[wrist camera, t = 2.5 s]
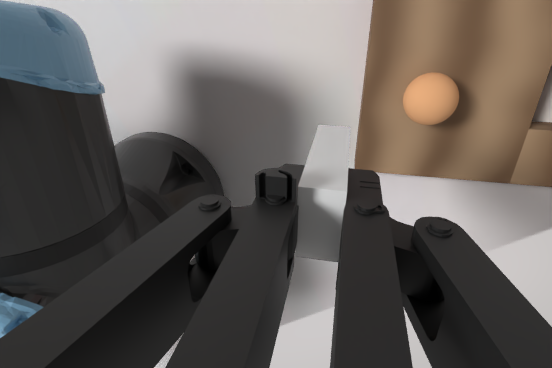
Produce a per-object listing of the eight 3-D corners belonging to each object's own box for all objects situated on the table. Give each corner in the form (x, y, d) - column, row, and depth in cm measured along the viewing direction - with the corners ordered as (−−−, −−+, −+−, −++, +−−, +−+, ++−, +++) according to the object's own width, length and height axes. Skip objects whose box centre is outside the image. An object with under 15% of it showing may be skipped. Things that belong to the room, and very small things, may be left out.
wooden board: (354, 160, 35) (354, 181, 30) (374, -8, 28) (377, -11, 24) (602, 180, 31) (642, 207, 26) (695, -11, 24) (770, -15, 20)
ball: (396, 115, 30) (402, 130, 26) (404, 67, 28) (411, 76, 24) (445, 118, 29) (458, 133, 25) (457, 69, 27) (472, 78, 24)
